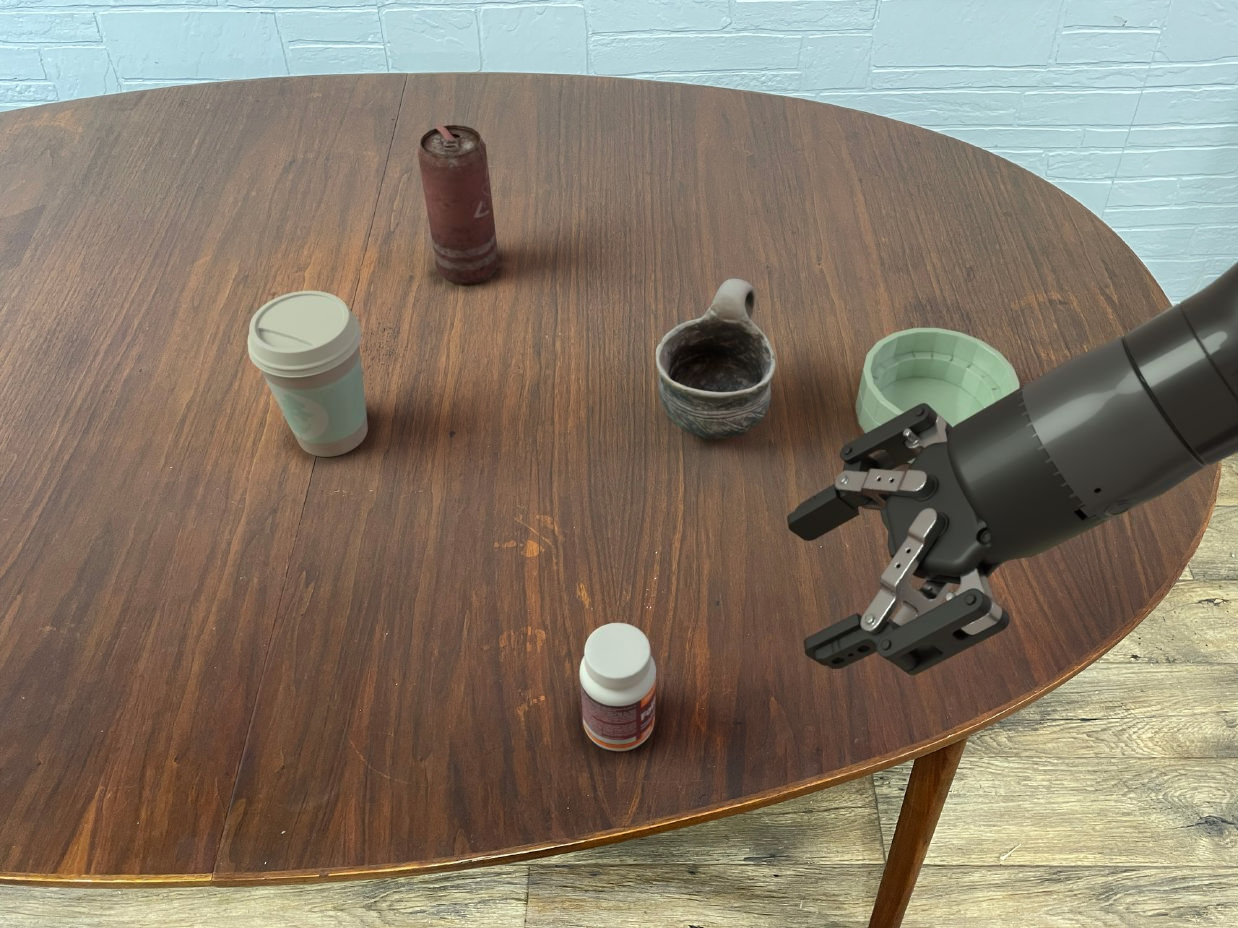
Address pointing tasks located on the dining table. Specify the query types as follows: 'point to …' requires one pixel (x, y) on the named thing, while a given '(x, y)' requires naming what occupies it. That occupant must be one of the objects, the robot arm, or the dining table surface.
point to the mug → (717, 367)
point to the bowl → (931, 376)
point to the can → (459, 203)
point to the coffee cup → (313, 368)
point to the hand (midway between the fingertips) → (804, 589)
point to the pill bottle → (618, 687)
